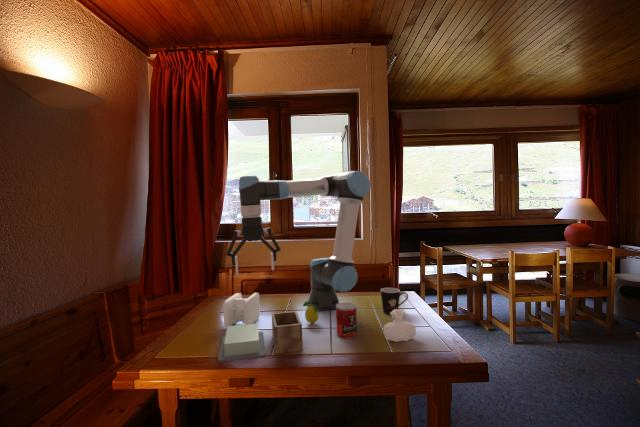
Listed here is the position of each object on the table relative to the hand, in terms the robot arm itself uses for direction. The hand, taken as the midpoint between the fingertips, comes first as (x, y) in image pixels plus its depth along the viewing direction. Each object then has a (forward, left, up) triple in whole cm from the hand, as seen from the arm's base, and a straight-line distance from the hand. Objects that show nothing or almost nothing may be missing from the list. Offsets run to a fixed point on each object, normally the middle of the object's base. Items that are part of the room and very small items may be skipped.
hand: (255, 271), depth 128 cm
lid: (+5, +10, -24) cm, 26 cm away
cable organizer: (+6, -13, -25) cm, 28 cm away
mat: (+5, +10, -24) cm, 27 cm away
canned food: (-33, +10, -25) cm, 42 cm away
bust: (-50, +19, -25) cm, 59 cm away
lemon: (-22, -4, -24) cm, 33 cm away
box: (-10, +12, -24) cm, 29 cm away
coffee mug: (-60, -7, -24) cm, 65 cm away
